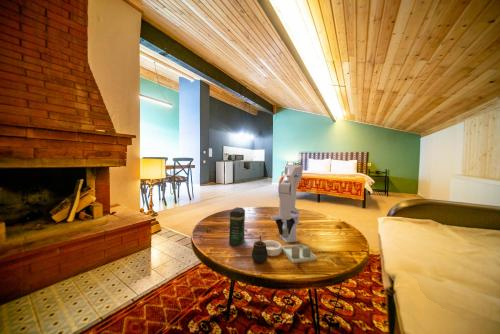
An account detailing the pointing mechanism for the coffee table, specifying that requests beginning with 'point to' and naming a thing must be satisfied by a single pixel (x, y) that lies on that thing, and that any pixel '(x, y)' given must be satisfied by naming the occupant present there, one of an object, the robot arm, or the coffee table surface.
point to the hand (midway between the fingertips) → (284, 233)
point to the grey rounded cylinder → (285, 232)
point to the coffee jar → (237, 226)
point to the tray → (288, 253)
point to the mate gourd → (259, 252)
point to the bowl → (273, 247)
